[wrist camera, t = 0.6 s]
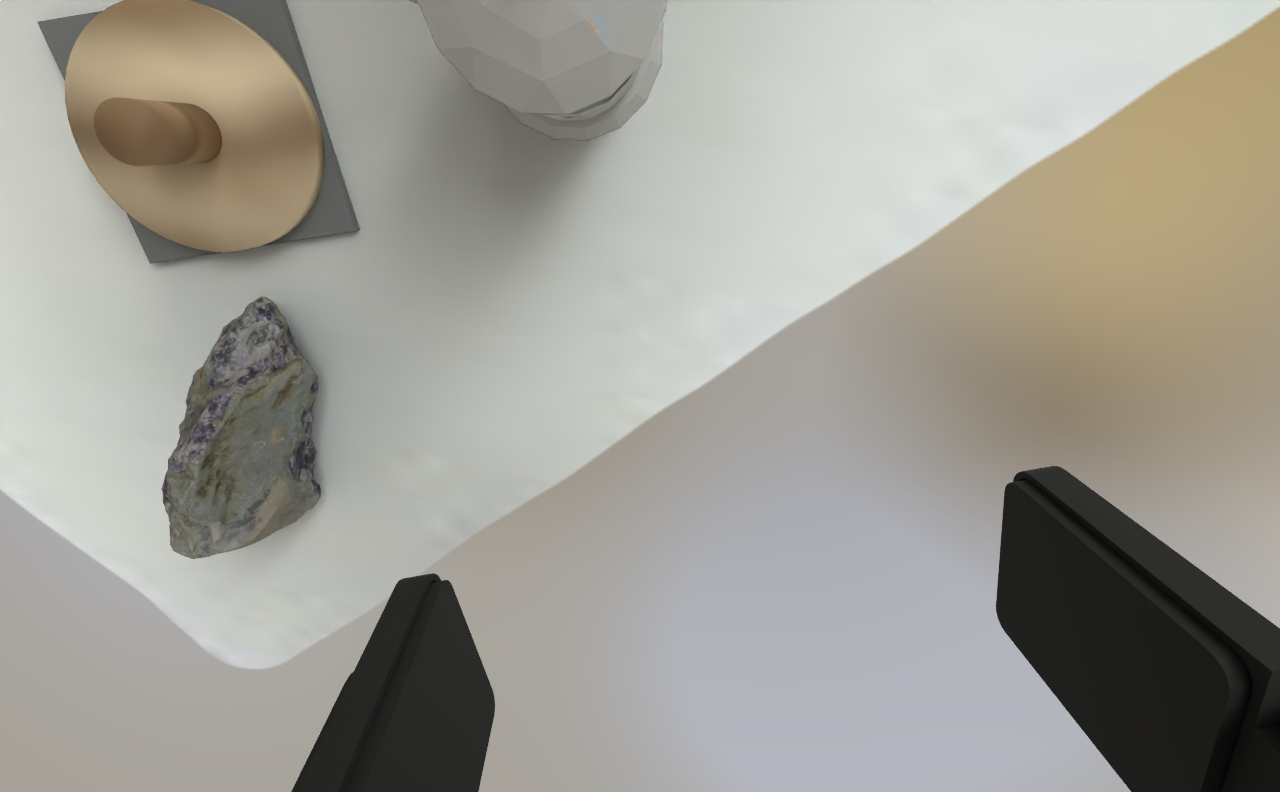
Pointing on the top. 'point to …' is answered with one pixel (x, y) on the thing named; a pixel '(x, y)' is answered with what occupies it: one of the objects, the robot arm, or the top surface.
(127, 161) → the lid
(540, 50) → the french press
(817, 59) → the top surface
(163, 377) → the top surface
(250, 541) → the mineral rock
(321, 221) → the mat
